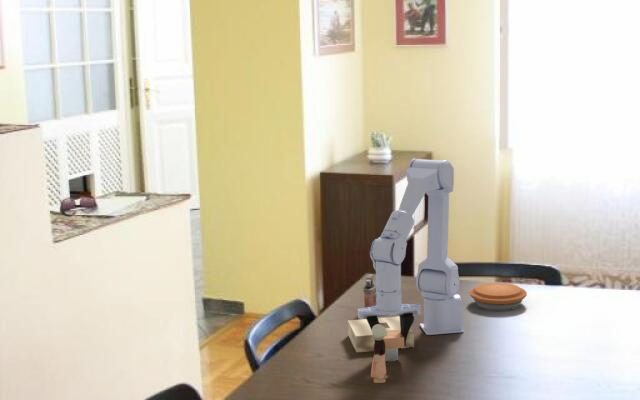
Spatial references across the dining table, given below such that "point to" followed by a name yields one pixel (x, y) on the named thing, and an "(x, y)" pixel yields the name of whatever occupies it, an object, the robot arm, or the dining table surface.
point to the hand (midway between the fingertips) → (390, 345)
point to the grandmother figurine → (379, 354)
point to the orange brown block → (393, 344)
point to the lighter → (370, 292)
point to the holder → (363, 333)
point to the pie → (498, 296)
